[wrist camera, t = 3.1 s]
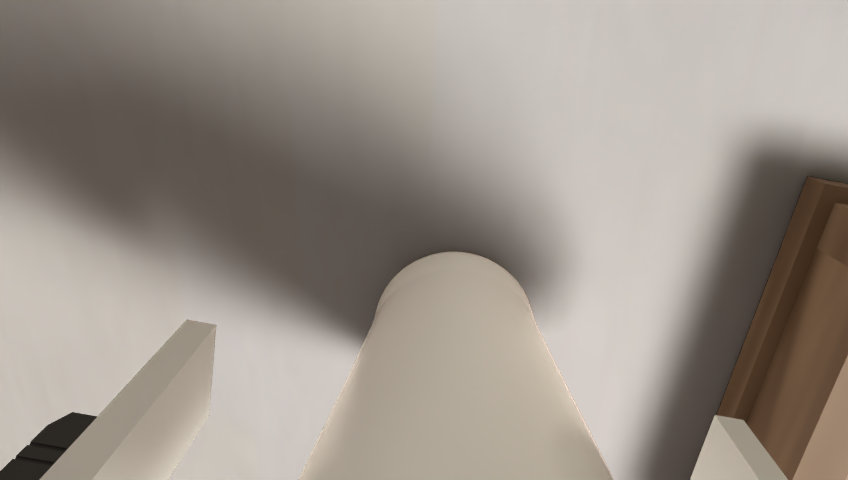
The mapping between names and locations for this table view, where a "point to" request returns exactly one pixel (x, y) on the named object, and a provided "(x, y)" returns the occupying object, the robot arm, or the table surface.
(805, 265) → the walnut dock
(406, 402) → the drinking glass
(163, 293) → the table surface
